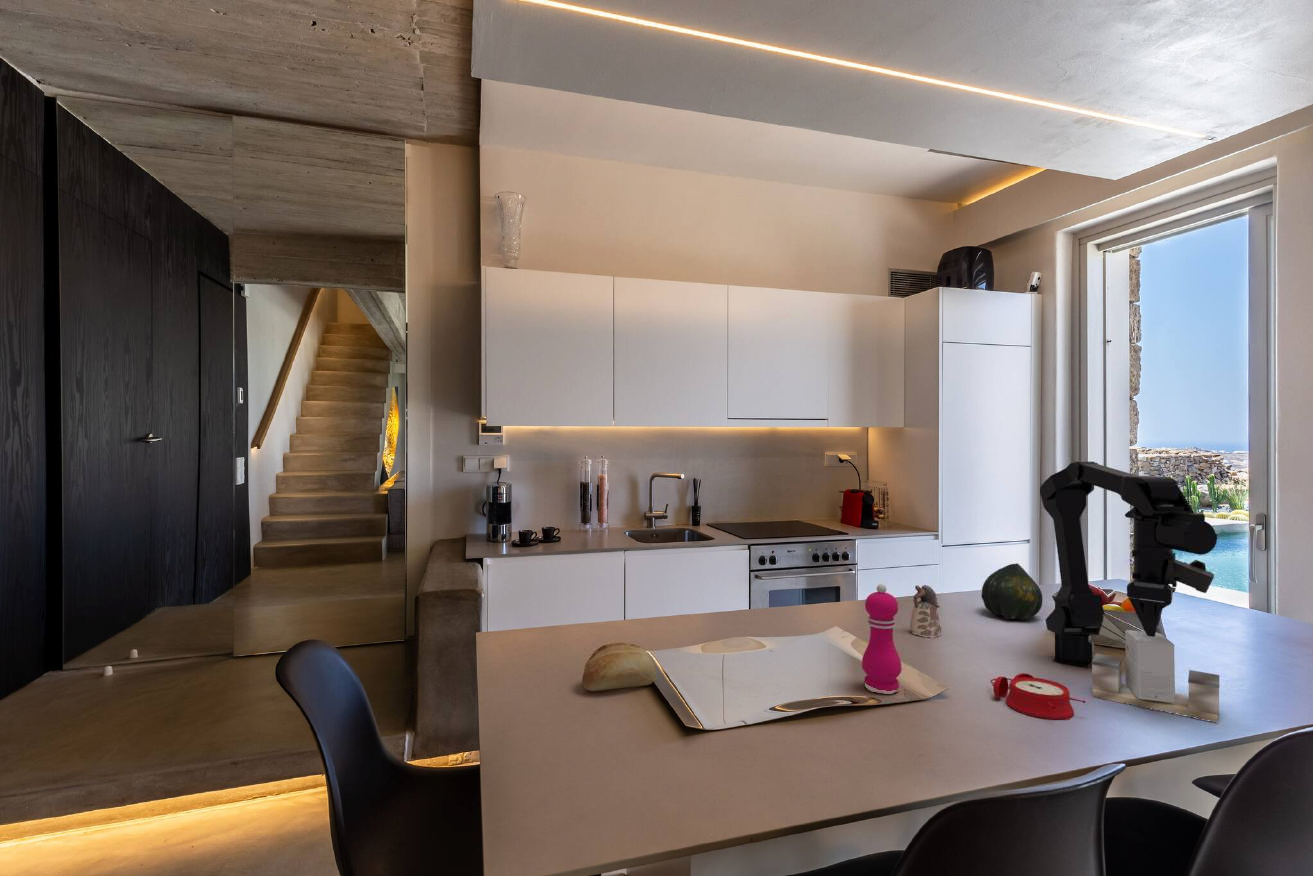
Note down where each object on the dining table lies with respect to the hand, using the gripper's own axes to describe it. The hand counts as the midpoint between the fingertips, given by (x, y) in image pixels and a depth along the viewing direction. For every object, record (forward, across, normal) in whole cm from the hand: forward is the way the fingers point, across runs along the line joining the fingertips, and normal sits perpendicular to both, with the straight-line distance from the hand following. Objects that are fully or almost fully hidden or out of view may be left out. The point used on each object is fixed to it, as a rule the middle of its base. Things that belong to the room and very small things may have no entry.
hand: (1152, 630), depth 119 cm
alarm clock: (+13, -16, +17) cm, 27 cm away
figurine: (+13, +16, +46) cm, 50 cm away
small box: (+12, -1, 0) cm, 12 cm away
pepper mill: (+13, -27, +40) cm, 50 cm away
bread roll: (+13, -59, +78) cm, 99 cm away
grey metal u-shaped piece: (+13, -1, 0) cm, 13 cm away
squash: (+13, +48, +34) cm, 60 cm away
